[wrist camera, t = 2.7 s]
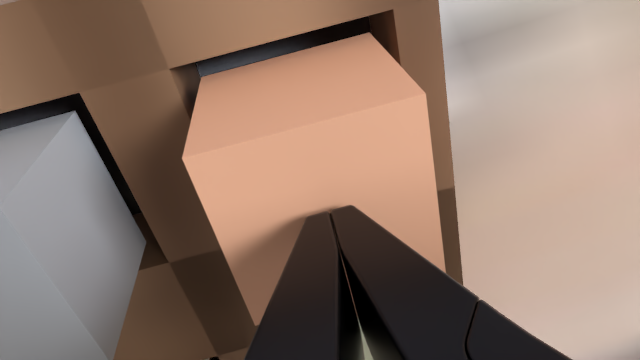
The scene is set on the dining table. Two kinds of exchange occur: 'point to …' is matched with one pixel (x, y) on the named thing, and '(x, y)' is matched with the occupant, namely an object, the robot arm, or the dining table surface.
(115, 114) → the brown shallow tray
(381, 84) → the key terracotta
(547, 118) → the dining table surface
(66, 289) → the key slate
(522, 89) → the dining table surface
